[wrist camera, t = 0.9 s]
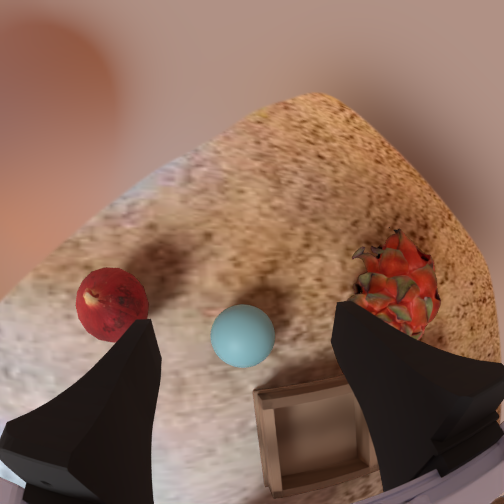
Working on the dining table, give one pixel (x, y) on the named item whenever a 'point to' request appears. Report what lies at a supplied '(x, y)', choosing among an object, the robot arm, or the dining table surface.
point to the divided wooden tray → (312, 436)
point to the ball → (242, 335)
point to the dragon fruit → (398, 285)
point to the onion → (110, 303)
